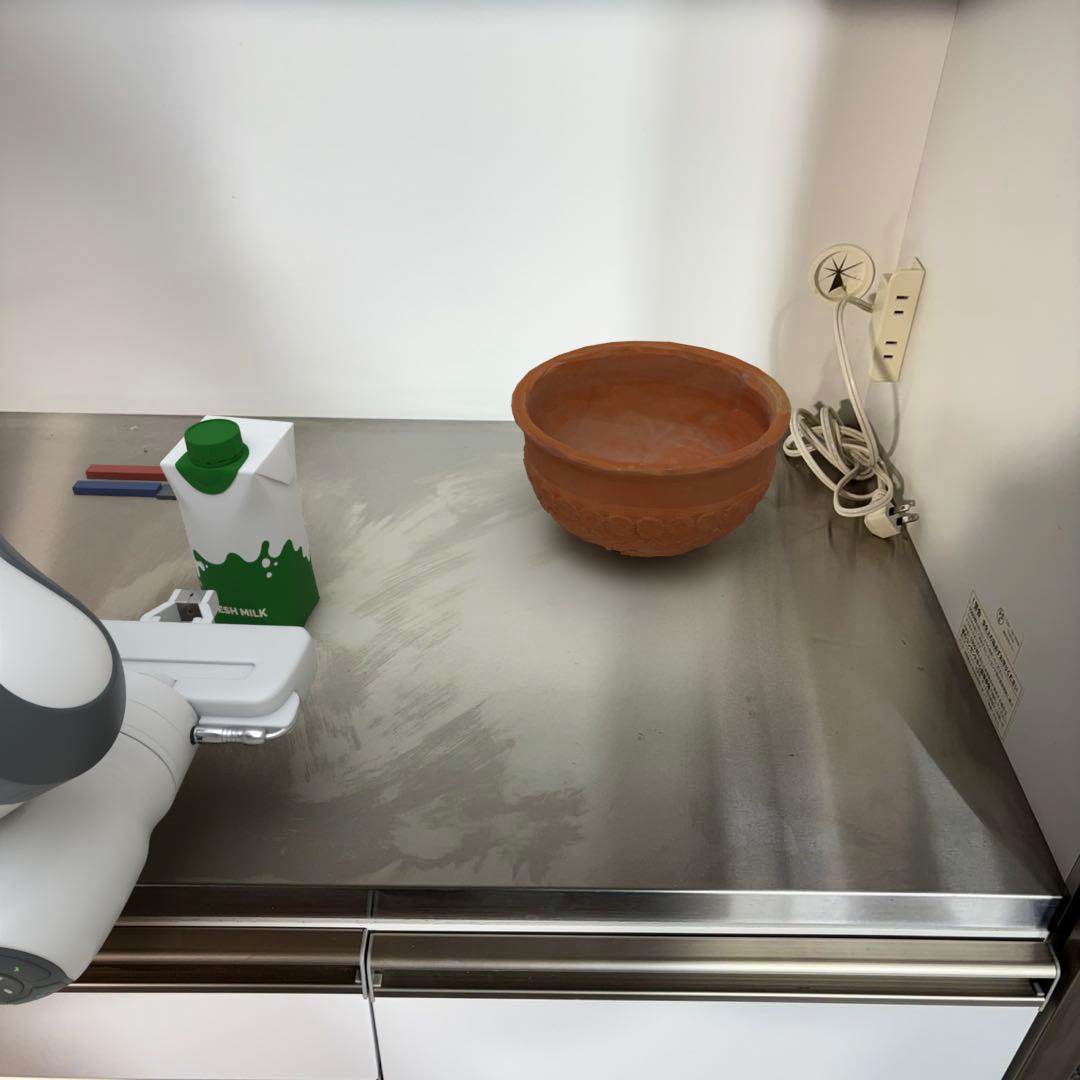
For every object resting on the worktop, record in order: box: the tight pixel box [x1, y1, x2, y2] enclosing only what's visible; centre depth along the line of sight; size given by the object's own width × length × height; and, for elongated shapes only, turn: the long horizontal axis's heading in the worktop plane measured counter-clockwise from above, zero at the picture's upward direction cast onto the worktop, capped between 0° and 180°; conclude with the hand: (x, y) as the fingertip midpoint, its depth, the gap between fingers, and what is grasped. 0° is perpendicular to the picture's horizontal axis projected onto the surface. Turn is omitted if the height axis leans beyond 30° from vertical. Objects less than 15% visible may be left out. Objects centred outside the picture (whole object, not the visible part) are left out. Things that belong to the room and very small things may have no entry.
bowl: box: [510, 340, 792, 558], centre depth 91 cm, size 25×25×15 cm
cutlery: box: [71, 464, 177, 500], centre depth 102 cm, size 18×5×1 cm, turn 87°
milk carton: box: [159, 414, 320, 628], centre depth 79 cm, size 9×9×20 cm
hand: (198, 596), depth 71 cm, fingers closed
